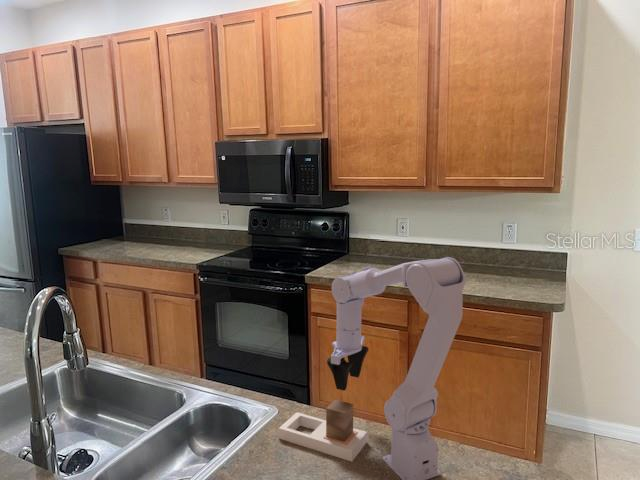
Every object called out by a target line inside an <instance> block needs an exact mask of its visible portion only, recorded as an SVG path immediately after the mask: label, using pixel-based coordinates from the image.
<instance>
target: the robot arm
mask: <svg viewBox="0 0 640 480" xmlns="http://www.w3.org/2000/svg"><path fill="white" fill-rule="evenodd" d="M467 280H468V279H467V277H466V274H465V272H464V270H463V268H462V265H461V264H460V263H459V261H458V260H457V259H455V258H453V257H451V256H445V257H442V258H441V257H440V258H439V259H438V258H432V259H423V260H422V259H420V260H414V261H409V262H402V263H400V264H397V265H395V266H392V267H389V268H386V269H384V270H381V269H380V268H377V267H372V266H371V265H369V266H364V267H363V268H362V271H359V272H357V271H353V272H350V273H349V275H347V276H346V275H345V276H337V277H336V278H335V279H334V280H333V281H332V283H331V294H332V296H333V299H334V300H335V301H336V338H335V339H336V341H332V342H331V347H333V352H332V353H331V355H330V356H329V358H327V360H326V364H327V366H328V367H329V369H330V371H331V373H332V376H333V380H334V384H335V387H336V390H340V391H342V392H343V391H346V390H347V386H348V382H349V381H348V379H349V376H350V377H354V378H359V377H360V375H361V371H362V367H363V363H364V360H365V357H366V356H367V353H368V352H369V347H368V346H365V337H366V336H364V335H362V310H363V309H362V307H363V306H364V304H365V299H366V298H369V297H373V296H378V295H380V294H383V293H384V292H385V290H386V287H387V286H391V285H396V284H399V283H402V285H403V287H404V288H408V290H409V292H410V293H411V294H412V296H413V297H414V299H415V300H416V302H417V303H418V304H419V306H420V308H421V309H422V310H423V312H424V313H426V314H428V319H427V321H426V324H425V327H424V330H423V332H422V334H421V337H420V339H419V340H420V341H419V342H418V345H417V347H416V350H415V354H414V355H413V359H412V361H411V363H410V366H409V369H408V372H407V373H406V374H407V375H406V378H405V380H404V381H403V382H402V383H400V385H399V386H398V387H397V388H396V389H395V390H394V391H393V392H392V396H391V397H390V398H388V399H387V400H386V401H385V403H384V406H383V413H384V416H385V420H386V422H387V423H388V425H389V427H391V441H390V442H391V443H390V444H391V445H390V446H391V447H390V449H391V450H390V454H387V455H383V456H381V457H382V460H383V461H384V463H385V464H387V466H388V467H389V468H390V469H391V470H392V471H393V472H394V473H395V474H397V476H398V477H399V478H400V479H401V480H430V479H432V478H435V477H438V476H440V475H441V474H442V473H441V471H440V470H439V469H438V465H439V464H438V463H439V462H438V461H439V460H438V458H439V446H438V443H437V441H436V440H435V438H433V436H432V434H431V433H430V430H429V425H430V424H431V418H433V417H434V416H435V415H436V413H437V409H438V405H437V400H438V397H439V392H438V390H437V388H435V385H436V383H437V381H438V380H437V379H438V378H439V376H440V373H441V370H442V368H443V366H444V364H445V361H446V358H447V356H448V353H449V351H450V349H451V346H452V343H453V341H454V339H455V336H456V334H457V331H458V330H459V327H460V324H461V322H462V320H463V316H464V315H463V311H464V310H463V307H464V305H463V304H464V302H463V299H464V298H463V290H464V287H465V285H466V283H467ZM346 357H347V360H346Z"/></svg>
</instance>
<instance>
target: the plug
mask: <svg viewBox="0 0 640 480" xmlns="http://www.w3.org/2000/svg"><path fill="white" fill-rule="evenodd" d="M325 411H326V412H325V413H326V415H325V416H326V419H325V420H326V437H330V438H333V439H336V440H340V441H343V442H345V441H346V440H347V438H348V437H349V436H350V435H351V434H352V432H353V428H354V403H351V402H346V401H342V400H340V399H339V400H338V399H334V400H333V401H332V402H331V403H330V404H329V405H328V406H327V407H326V410H325Z"/></svg>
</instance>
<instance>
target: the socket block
mask: <svg viewBox="0 0 640 480" xmlns="http://www.w3.org/2000/svg"><path fill="white" fill-rule="evenodd" d="M300 426H301V427H304V428H308V429H311V430H313V431H312V432H311V433H310V434H309V433H306V432H302V431H298V430H297V429H298V428H300ZM278 439H279V440H282V441H284V442H289V443H292V444H295V445H298V446H301V447H305V448H307V449H309V450H314V451H316V452H319V453H323V454H327V455H329V456H331V457H332V456H333V457H336V458H339V459H342V460H345V461H348V462H351V463H353V461H354V460H355V459H356V458H357V456H358V454H359V453H360V452H361V451H362V450H363V448H364V447H365V445H366V444H367V441H368V432H367V431H366V430H362V429H359V428H358V429H357V428H354V427H353V432H352V434H351V435H350V436H349V437H348V438H347V440H346V441H345V442H343V441H340V440H336V439H333V438H330V437H326V419H322V418H320V417H319V418H318V417H315V416H312V415H309V414H304V413H302V412H295V413H294V414H292V416H291V417H289V418H288V420H286V421H285V422H283V424H281V426H280V427H278Z"/></svg>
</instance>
